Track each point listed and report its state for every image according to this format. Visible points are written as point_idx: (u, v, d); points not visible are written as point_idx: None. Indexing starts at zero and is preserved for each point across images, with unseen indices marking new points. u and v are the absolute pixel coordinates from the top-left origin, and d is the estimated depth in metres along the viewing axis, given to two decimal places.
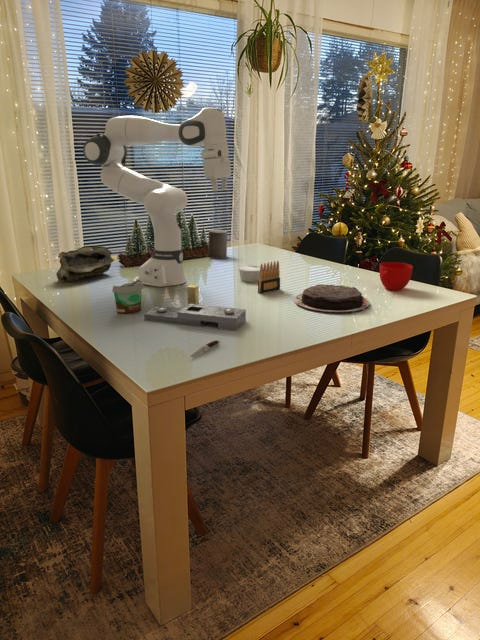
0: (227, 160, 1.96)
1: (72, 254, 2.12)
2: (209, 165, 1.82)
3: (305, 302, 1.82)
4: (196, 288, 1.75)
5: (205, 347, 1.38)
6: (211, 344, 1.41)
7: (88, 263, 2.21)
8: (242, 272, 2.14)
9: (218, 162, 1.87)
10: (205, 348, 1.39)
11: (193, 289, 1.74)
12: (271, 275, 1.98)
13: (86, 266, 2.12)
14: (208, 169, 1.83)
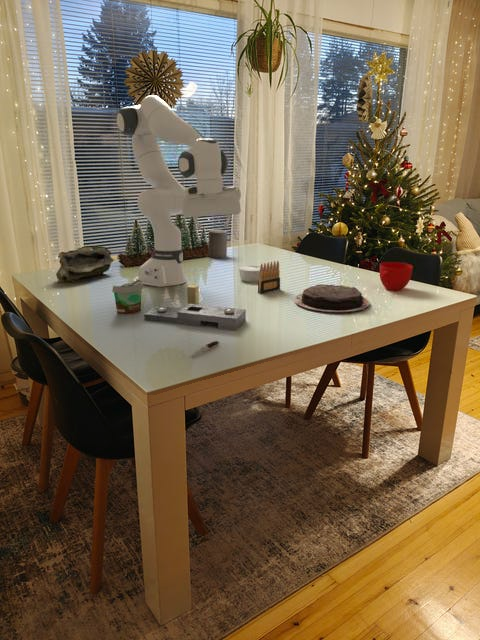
0: (229, 196, 1.70)
1: (72, 254, 2.12)
2: None
3: (305, 302, 1.82)
4: (196, 288, 1.75)
5: (205, 348, 1.38)
6: (211, 344, 1.41)
7: (88, 263, 2.21)
8: (242, 272, 2.14)
9: (199, 199, 1.70)
10: (205, 349, 1.38)
11: (193, 289, 1.74)
12: (271, 275, 1.98)
13: (86, 266, 2.12)
14: None
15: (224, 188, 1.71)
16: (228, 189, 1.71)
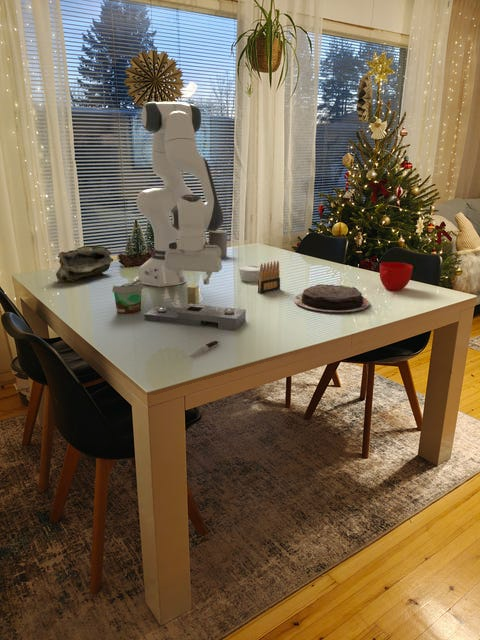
0: (208, 254, 1.68)
1: (72, 254, 2.13)
2: None
3: (305, 302, 1.82)
4: (196, 288, 1.75)
5: (204, 347, 1.38)
6: (210, 344, 1.40)
7: (87, 263, 2.21)
8: (242, 272, 2.14)
9: (180, 254, 1.71)
10: (204, 348, 1.38)
11: (193, 289, 1.74)
12: (271, 275, 1.98)
13: (86, 266, 2.12)
14: None
15: (205, 245, 1.69)
16: (209, 247, 1.69)
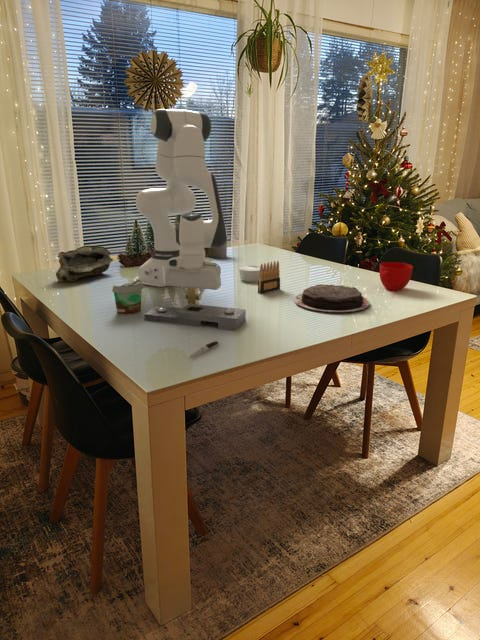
0: (208, 272, 1.70)
1: (71, 254, 2.13)
2: None
3: (305, 302, 1.82)
4: (196, 288, 1.75)
5: (204, 348, 1.38)
6: (210, 345, 1.40)
7: (87, 263, 2.21)
8: (242, 272, 2.14)
9: (180, 271, 1.73)
10: (204, 349, 1.38)
11: (193, 289, 1.74)
12: (271, 275, 1.98)
13: (86, 266, 2.12)
14: None
15: (205, 263, 1.71)
16: (208, 265, 1.71)
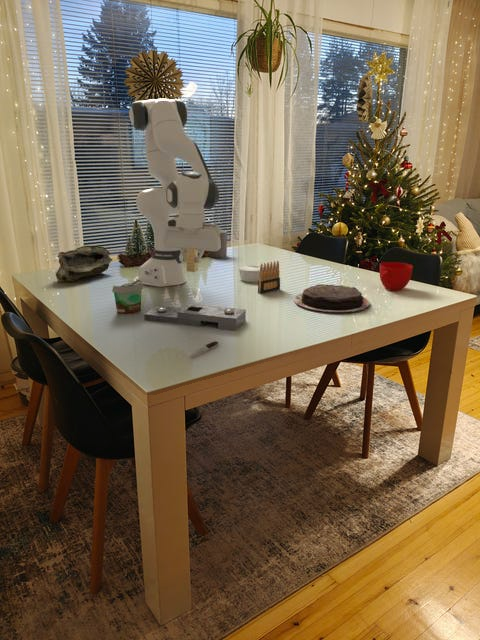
0: (208, 232, 1.66)
1: (71, 254, 2.13)
2: None
3: (305, 302, 1.82)
4: (195, 250, 1.71)
5: (204, 348, 1.38)
6: (210, 345, 1.40)
7: (86, 263, 2.21)
8: (242, 272, 2.14)
9: (179, 232, 1.69)
10: (204, 349, 1.38)
11: (192, 251, 1.70)
12: (271, 275, 1.98)
13: (85, 266, 2.12)
14: None
15: (204, 224, 1.67)
16: (208, 225, 1.67)
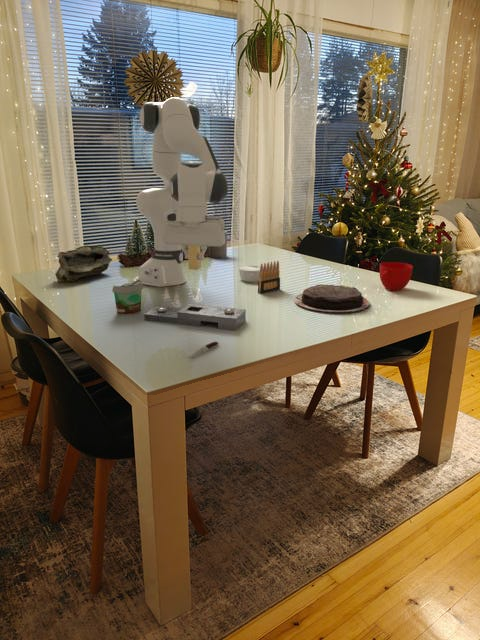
0: (211, 226, 1.53)
1: (71, 254, 2.13)
2: None
3: (305, 302, 1.82)
4: (198, 246, 1.57)
5: (204, 348, 1.38)
6: (210, 345, 1.40)
7: (86, 263, 2.21)
8: (242, 272, 2.14)
9: (179, 227, 1.56)
10: (204, 349, 1.38)
11: (194, 247, 1.57)
12: (271, 275, 1.98)
13: (85, 266, 2.12)
14: None
15: (207, 217, 1.54)
16: (211, 218, 1.53)
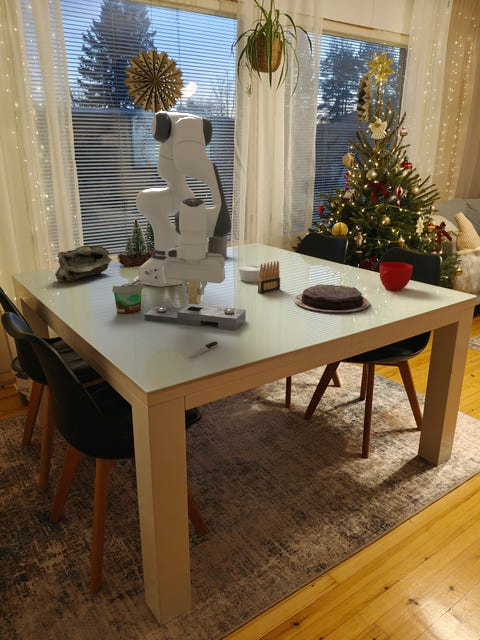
0: (211, 263, 1.55)
1: (71, 254, 2.13)
2: None
3: (305, 302, 1.82)
4: (198, 281, 1.60)
5: (203, 348, 1.38)
6: (210, 345, 1.40)
7: (86, 263, 2.21)
8: (242, 272, 2.14)
9: (180, 263, 1.58)
10: (203, 349, 1.38)
11: (194, 283, 1.59)
12: (271, 275, 1.98)
13: (85, 266, 2.12)
14: None
15: (207, 254, 1.56)
16: (211, 255, 1.55)
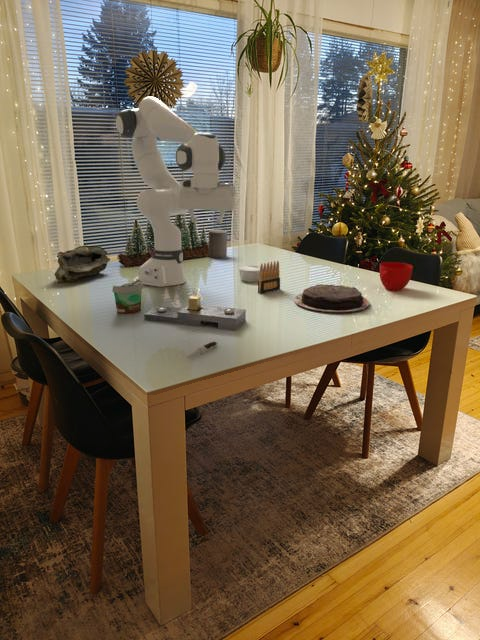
0: (222, 192, 1.69)
1: (70, 254, 2.13)
2: None
3: (305, 302, 1.81)
4: (198, 299, 1.62)
5: (202, 348, 1.37)
6: (209, 345, 1.39)
7: (84, 263, 2.22)
8: (242, 272, 2.14)
9: (194, 192, 1.73)
10: (202, 349, 1.37)
11: (194, 301, 1.61)
12: (271, 275, 1.98)
13: (85, 266, 2.12)
14: None
15: (219, 184, 1.70)
16: (223, 185, 1.70)
